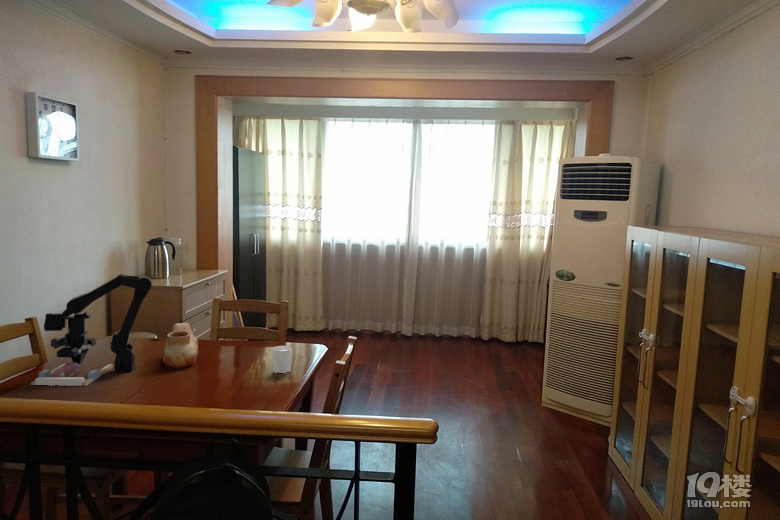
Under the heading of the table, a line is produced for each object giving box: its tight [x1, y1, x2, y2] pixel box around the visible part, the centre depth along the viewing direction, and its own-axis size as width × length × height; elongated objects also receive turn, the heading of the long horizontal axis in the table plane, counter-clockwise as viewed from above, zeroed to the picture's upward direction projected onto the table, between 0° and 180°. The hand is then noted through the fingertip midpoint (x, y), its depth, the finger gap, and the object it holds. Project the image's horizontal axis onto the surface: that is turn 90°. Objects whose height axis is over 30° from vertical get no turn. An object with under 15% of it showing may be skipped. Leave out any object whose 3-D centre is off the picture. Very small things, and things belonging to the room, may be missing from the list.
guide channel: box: [30, 363, 114, 387], centre depth 197 cm, size 20×22×3 cm
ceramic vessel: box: [162, 322, 199, 369], centre depth 221 cm, size 14×26×15 cm, turn 19°
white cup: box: [272, 345, 293, 373], centre depth 211 cm, size 8×8×10 cm
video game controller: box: [49, 362, 82, 377], centre depth 194 cm, size 10×5×7 cm, turn 157°
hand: (77, 368), depth 200 cm, fingers closed
